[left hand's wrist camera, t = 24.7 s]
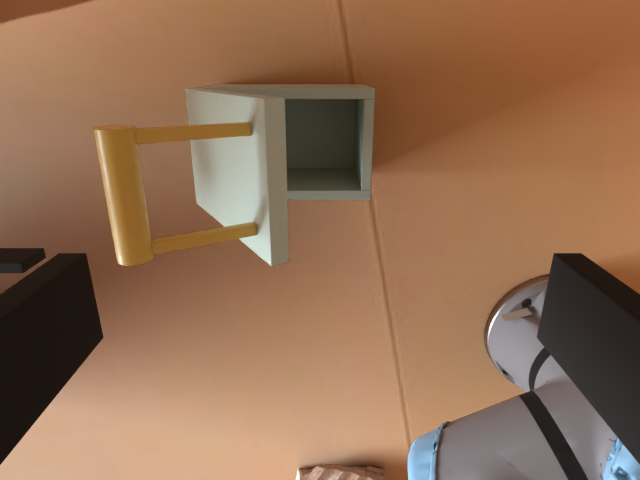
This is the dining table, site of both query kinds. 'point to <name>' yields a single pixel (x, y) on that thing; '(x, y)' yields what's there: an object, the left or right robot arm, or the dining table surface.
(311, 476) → the stone
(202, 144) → the lid
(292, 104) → the chest
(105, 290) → the dining table surface
